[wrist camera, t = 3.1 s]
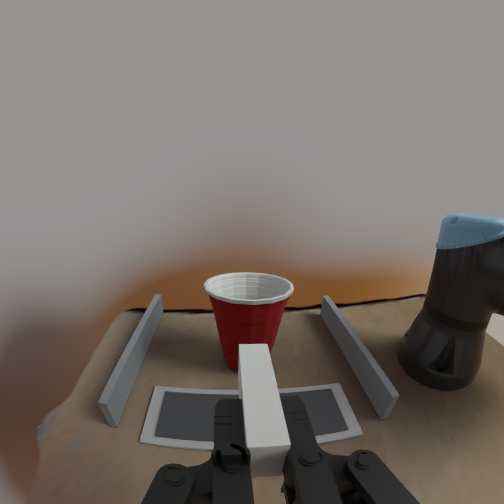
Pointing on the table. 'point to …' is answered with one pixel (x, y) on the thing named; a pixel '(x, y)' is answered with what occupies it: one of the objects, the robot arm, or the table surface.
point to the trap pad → (204, 400)
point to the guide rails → (346, 338)
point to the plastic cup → (247, 309)
